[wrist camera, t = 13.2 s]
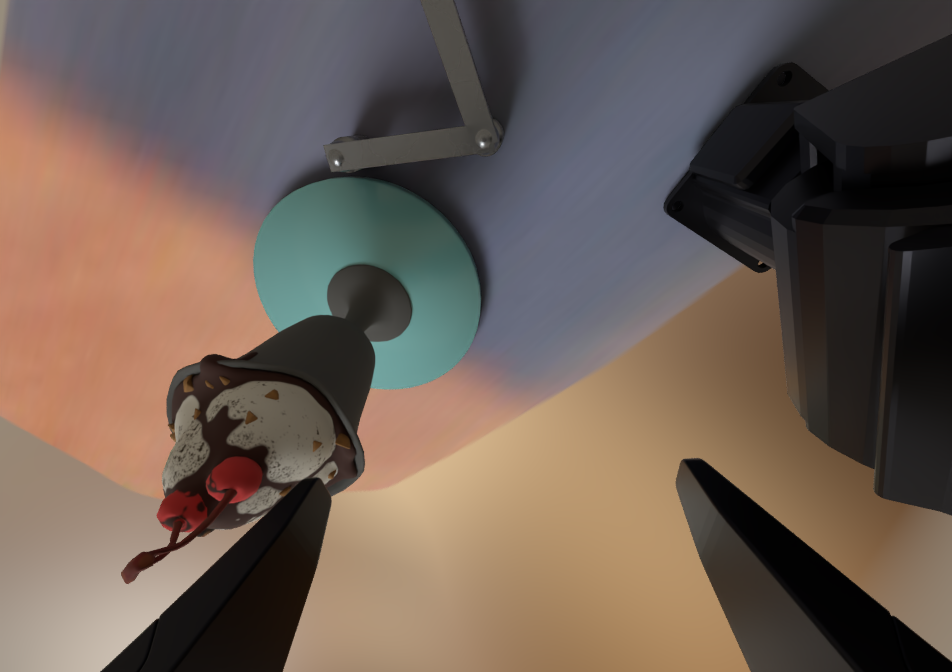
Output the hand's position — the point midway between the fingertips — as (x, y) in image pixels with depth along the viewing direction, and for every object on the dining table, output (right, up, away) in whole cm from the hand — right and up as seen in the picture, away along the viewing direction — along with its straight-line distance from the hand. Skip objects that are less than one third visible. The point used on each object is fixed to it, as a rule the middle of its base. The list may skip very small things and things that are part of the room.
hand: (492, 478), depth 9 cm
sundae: (-6, +6, +12) cm, 14 cm away
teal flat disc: (-7, +6, +12) cm, 15 cm away
